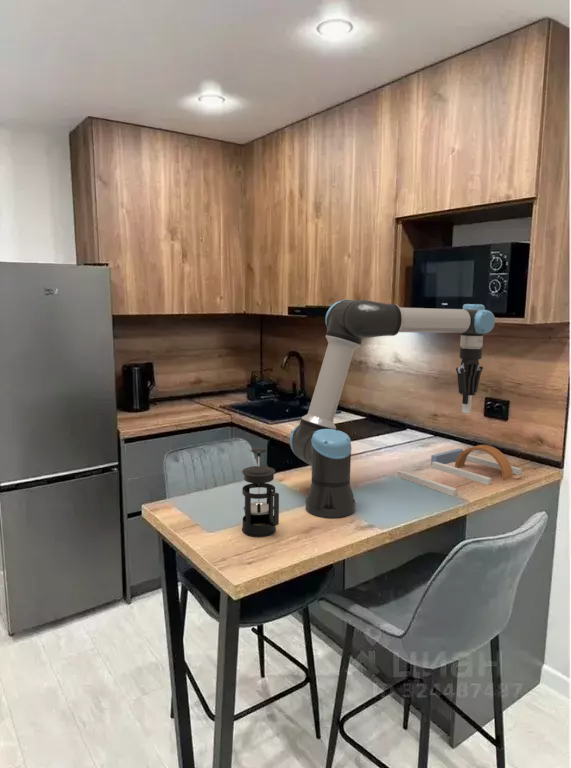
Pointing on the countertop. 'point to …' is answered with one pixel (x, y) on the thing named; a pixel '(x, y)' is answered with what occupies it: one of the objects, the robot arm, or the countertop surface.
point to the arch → (493, 452)
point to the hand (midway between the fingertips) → (466, 412)
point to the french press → (259, 510)
